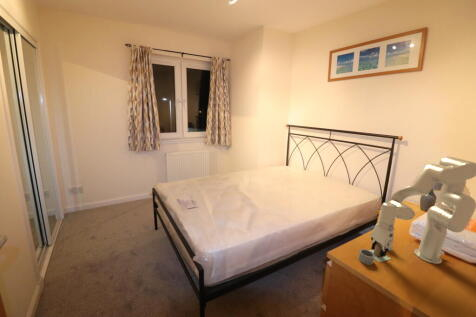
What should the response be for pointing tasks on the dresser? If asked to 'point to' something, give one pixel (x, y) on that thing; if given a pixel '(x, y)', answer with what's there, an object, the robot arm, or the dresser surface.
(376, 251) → the lid
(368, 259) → the cup
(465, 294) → the dresser surface
